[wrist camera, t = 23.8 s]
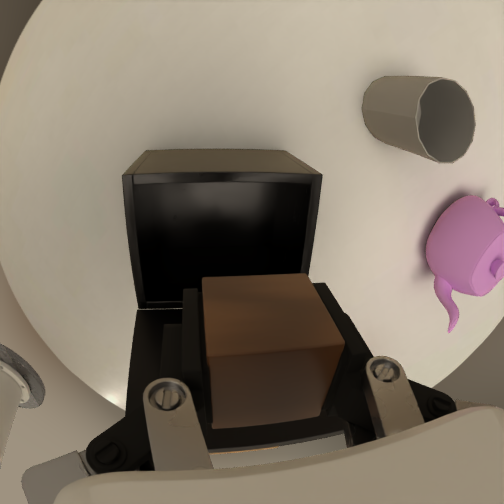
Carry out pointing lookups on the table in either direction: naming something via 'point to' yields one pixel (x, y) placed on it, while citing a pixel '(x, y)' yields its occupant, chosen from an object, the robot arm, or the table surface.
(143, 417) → the robot arm
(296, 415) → the block
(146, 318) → the box lid
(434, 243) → the teapot
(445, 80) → the faceted grey tumbler
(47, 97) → the table surface
